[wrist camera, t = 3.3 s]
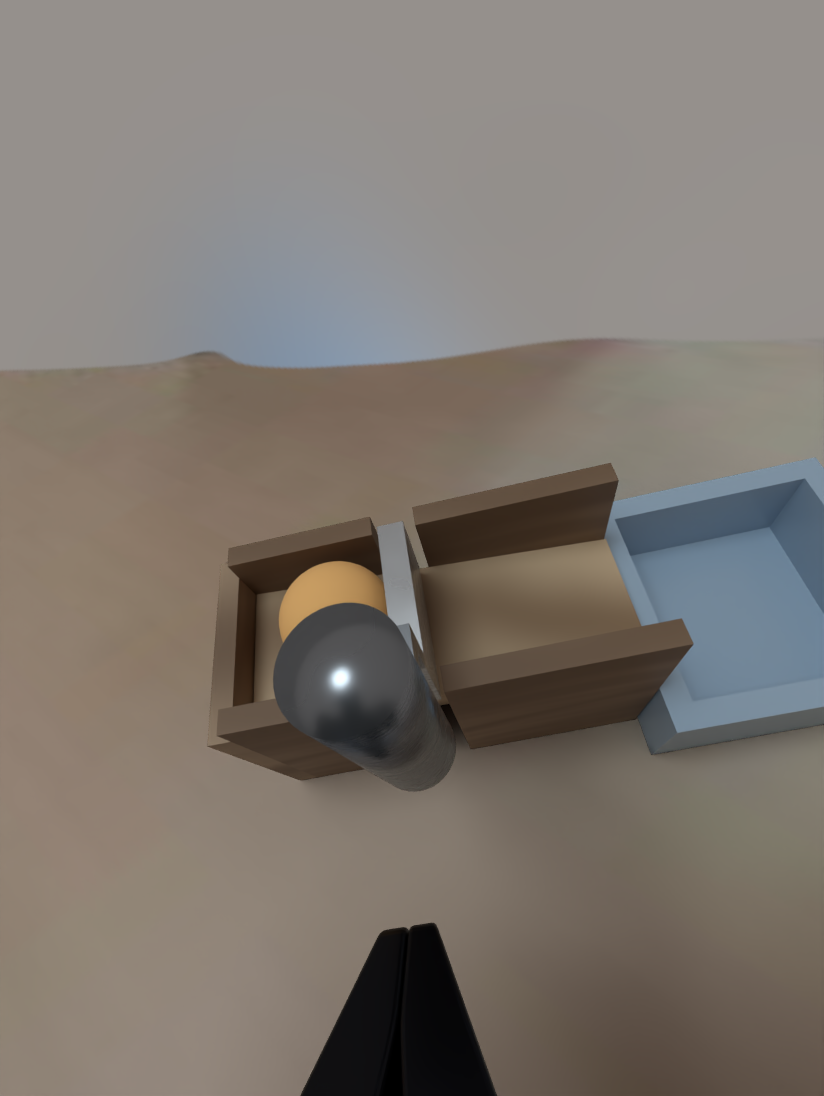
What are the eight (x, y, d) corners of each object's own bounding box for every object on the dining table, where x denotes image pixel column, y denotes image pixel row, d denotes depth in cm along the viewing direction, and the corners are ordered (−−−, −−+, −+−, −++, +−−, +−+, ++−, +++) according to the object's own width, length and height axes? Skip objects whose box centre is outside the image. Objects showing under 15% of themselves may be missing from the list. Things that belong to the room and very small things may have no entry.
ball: (362, 713, 16) (337, 677, 13) (276, 658, 17) (235, 614, 14) (421, 622, 17) (412, 571, 14) (338, 577, 18) (313, 521, 16)
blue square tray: (900, 710, 18) (980, 678, 15) (651, 755, 19) (677, 732, 16) (774, 514, 23) (815, 457, 19) (578, 555, 23) (586, 507, 20)
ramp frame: (636, 718, 19) (696, 643, 13) (300, 780, 21) (191, 740, 14) (586, 580, 23) (612, 462, 16) (297, 640, 24) (208, 552, 17)
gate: (477, 802, 14) (417, 724, 6) (412, 813, 14) (272, 752, 6) (433, 565, 18) (363, 334, 10) (383, 576, 18) (275, 357, 10)
